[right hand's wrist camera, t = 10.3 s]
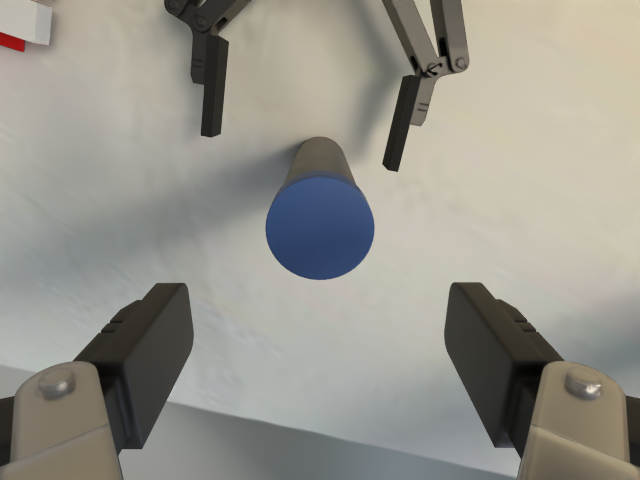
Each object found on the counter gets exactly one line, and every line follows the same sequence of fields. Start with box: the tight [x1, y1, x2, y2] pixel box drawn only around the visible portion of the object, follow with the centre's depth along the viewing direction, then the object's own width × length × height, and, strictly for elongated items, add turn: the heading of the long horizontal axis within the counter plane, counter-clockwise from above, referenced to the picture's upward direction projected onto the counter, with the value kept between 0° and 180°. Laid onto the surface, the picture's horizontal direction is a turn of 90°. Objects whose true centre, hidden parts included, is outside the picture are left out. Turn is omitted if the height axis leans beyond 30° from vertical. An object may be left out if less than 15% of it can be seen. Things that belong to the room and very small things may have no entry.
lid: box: [266, 170, 374, 280], centre depth 19 cm, size 5×5×2 cm
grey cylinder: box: [284, 137, 356, 184], centre depth 27 cm, size 5×5×19 cm
